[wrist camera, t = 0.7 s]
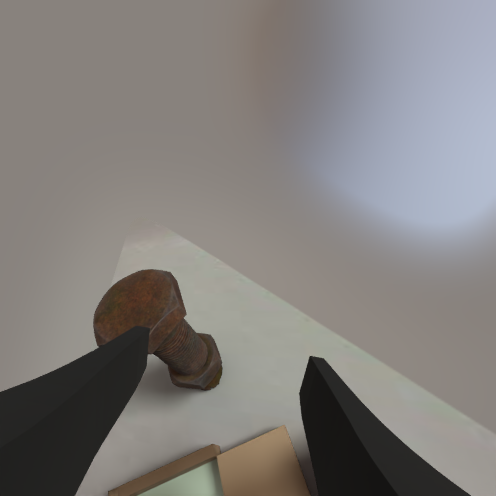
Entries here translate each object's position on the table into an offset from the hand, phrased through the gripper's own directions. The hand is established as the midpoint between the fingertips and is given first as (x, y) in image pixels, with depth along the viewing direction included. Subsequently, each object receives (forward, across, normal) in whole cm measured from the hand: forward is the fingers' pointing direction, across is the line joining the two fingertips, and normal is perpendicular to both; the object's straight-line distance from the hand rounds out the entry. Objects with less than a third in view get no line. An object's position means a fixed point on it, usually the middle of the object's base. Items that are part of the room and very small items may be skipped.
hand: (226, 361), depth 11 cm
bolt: (+13, +1, +12) cm, 18 cm away
